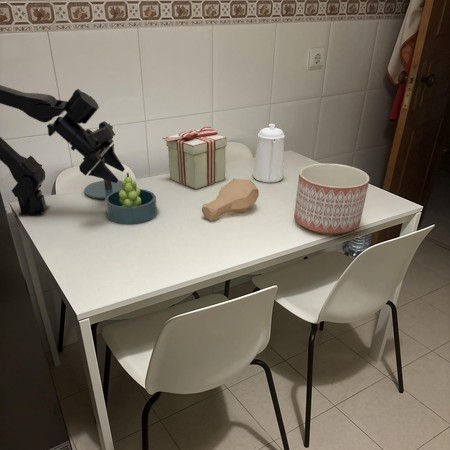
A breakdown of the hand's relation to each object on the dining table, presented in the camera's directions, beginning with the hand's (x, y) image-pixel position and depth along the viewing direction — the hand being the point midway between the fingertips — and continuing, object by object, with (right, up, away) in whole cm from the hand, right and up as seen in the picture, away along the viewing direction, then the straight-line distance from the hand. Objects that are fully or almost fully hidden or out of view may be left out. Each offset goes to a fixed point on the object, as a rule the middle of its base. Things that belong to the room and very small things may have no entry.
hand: (120, 176), depth 129 cm
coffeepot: (+46, +8, +34) cm, 57 cm away
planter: (+60, -13, +4) cm, 62 cm away
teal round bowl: (+2, -10, +7) cm, 12 cm away
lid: (-9, +1, +20) cm, 22 cm away
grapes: (+2, -9, +7) cm, 11 cm away
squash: (+32, -9, +9) cm, 34 cm away
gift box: (+19, +7, +32) cm, 38 cm away
